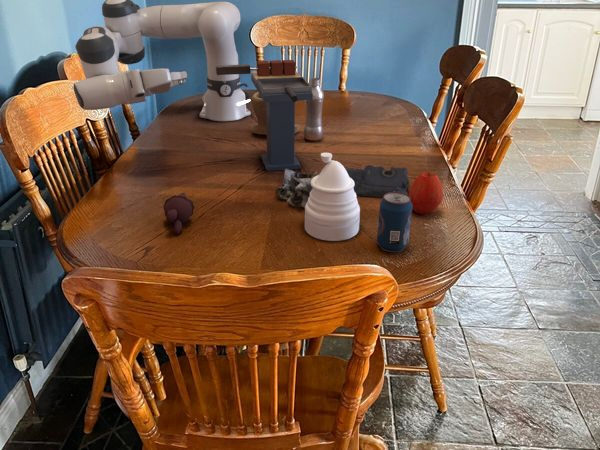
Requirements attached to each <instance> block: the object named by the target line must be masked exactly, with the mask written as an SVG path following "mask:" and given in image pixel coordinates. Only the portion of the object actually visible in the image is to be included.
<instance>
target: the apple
mask: <svg viewBox="0 0 600 450" xmlns="http://www.w3.org/2000/svg"><path fill="white" fill-rule="evenodd" d="M408 195H409V196H410V198H411V199H410V201H411V203H412V211H413V212H415V213H417V214H419V215H424V216H425V215H430V214H432V213H434V212H435V211H436V210H437V208H438V207H439V206H440V205H441V204H442V202H443V199H444V190H443V185H442V183H441V179H440V178H439V177H438V176H437V174H435V173H433V172H431V171H423V172H421V173H420V174H418V175H417V176H416V178H415V179H414V181H413V182H412V184H411V187H410V189H409V193H408Z"/></svg>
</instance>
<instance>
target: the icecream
mask: <svg viewBox="0 0 600 450" xmlns="http://www.w3.org/2000/svg"><path fill="white" fill-rule="evenodd" d="M162 208H163V212H164V217H165V218H166V221H167V222H169V223H172V224H173V232H174V234H175V235H179V234H180V233H181V232H182V230H183V224H185V223H187V221H188V220H189V219H190V218H191V217H192V216H193V215H194V210H195V205H194V201H193V200H192V199H189V198H188V197H187V195H186V193H185V192H181V193H180V194H178V195H172V196H171V197H169V198H167V199H166V200H165V201H164V204H163V207H162Z"/></svg>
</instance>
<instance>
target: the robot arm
mask: <svg viewBox="0 0 600 450" xmlns="http://www.w3.org/2000/svg"><path fill="white" fill-rule="evenodd" d="M101 13H102V16H103V21H104V26H103V25H93V26H92V27H89V28H86V29H85V30H84V31H83V33H82V36H81V37H79V38H78V40H77V41H76V43H75V45H74V47H75V50H76V53H77V56H78V58H79V61H80V64H81V67H82V71H83V74H84V77H85V78H84V79H81V80H77V81H75V82H73V87H72V88H73V92H74V96H75V98H76V101H77V103H78V106H79V107H80V108H81V109H83V111H97V110H106V109H112V108H115V107H117V106H120V105H133V104H138V103H139V104H140V103H144V102H147V99H146V98H147V97H150V96H152V95H158V94H164V93H168V92H170V90H171V88H174V87H176V86H180V85H184V84H186V80H187V78H188V73H187V71H172V72H170V69H169V68H163V67H162V68H152V69H144V70H140V69H139V68H134V69H130V70H124V71H121V69H120V65H119V63H120V64H122V65H134V64H138V63H140V62H142V61H143V59H144V58H145V56H146V47H145V46H144V39H143V37H145V38H150V39H157V40H158V39H159V40H179V39H181V40H182V39H194V38H201V39H202V43H203V47H204V50H205V51H204V52H205V57H206V68H207V69H206V70H207V77H206V87H207V90H206V92H204V94H203V95H202V102H203V105H202V109H201V111H200V112H199V118H200V119H201V118H202V119H208V120H210V121H214V122H215V121H217V122H232V121H238V120H242V119H243V118H245V117H248V116H251V115H252V112H251V111H250V110H249V109H248V108H247V103H249V102H251V99H250V98H249V99H247V100H246V98H247V97H249V93H248V92H247V91H245V90H242V89H241V87H243V86H244V87H249V86H248V84H247V83H244V82H243V83H242V82H241V81H242V80H241V76H240V74H233V75H217V74H216V66H217V65H239V54H238V51H237V48H236V43H235V37H234V36H235V35H234V33H235V32H236V31H237V30H238V28H239V26H240V24H241V12H240V10H239V8H238V7H237V6H236V5H235V4H234V3H231V2H230V1H229V2H228V1H212V2H210V1H209V2H199V3H189V4H162V5H161V4H160V5H159V4H158V5H151V6H147V7H142V8H141V7H140V5H139V4H136V3H135V2H134V1H133V0H105V1H104V2H103V3H102V4H101Z"/></svg>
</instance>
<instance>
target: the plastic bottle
mask: <svg viewBox="0 0 600 450" xmlns="http://www.w3.org/2000/svg"><path fill="white" fill-rule="evenodd" d="M308 83H309V84H310V85H311V86H312V93H313V100H304V106H305V121H304V127H303V136H304V138H305V139H306V140H307V141H319V140H321V139H323V135H324V128H323V118H322V117H323V116H322V115H323V105H324V99H325V94H324V91H323V89H322V88H321V78H320V77H310V78H309V77H308Z"/></svg>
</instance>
